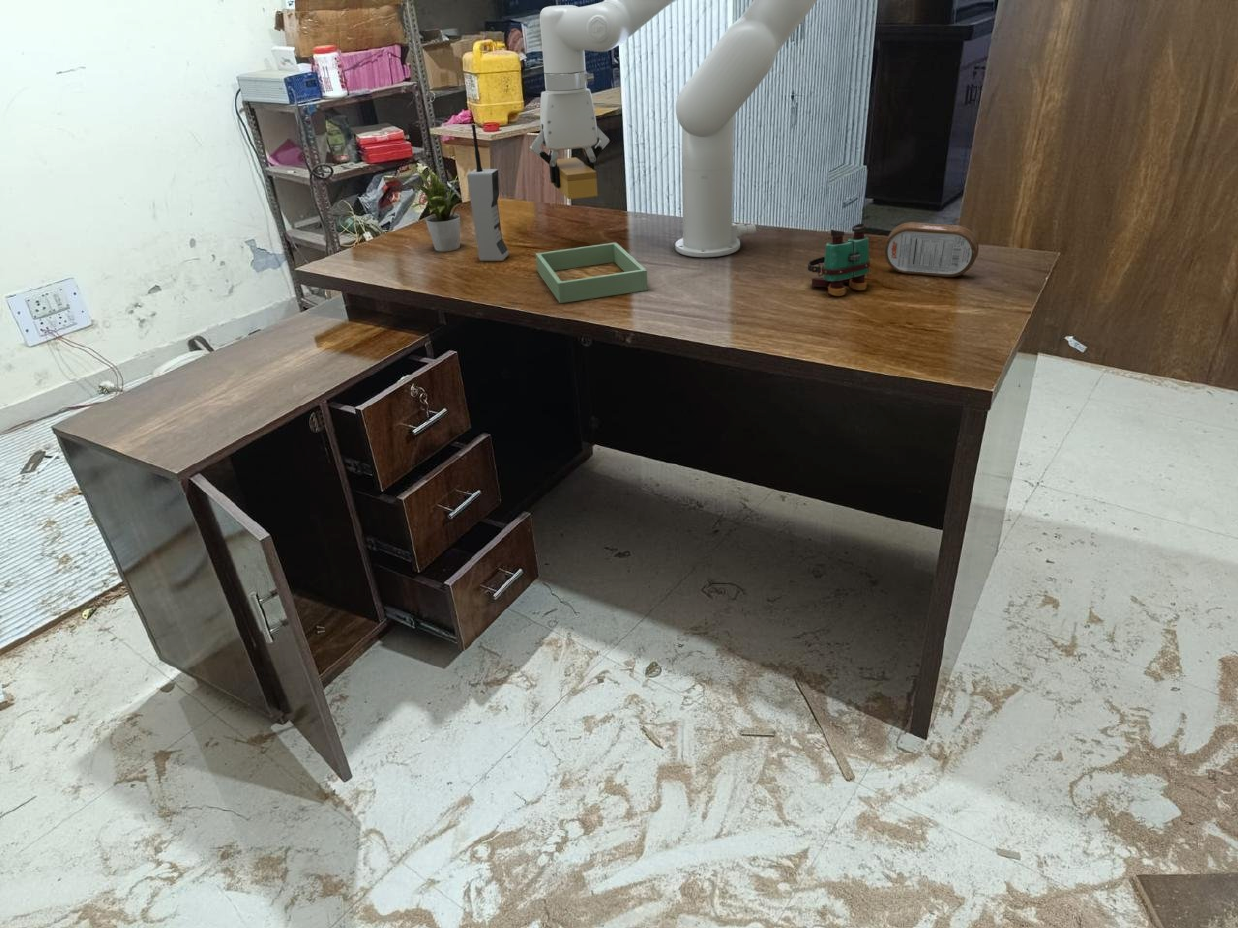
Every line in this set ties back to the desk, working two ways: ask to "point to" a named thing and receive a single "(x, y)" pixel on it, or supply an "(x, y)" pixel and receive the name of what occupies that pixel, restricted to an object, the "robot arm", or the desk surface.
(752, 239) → the desk surface
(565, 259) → the green rectangular open frame
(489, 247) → the vintage mobile phone
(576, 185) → the tan wooden plank
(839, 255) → the binoculars
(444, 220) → the house plant
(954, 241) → the tin
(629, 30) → the robot arm
